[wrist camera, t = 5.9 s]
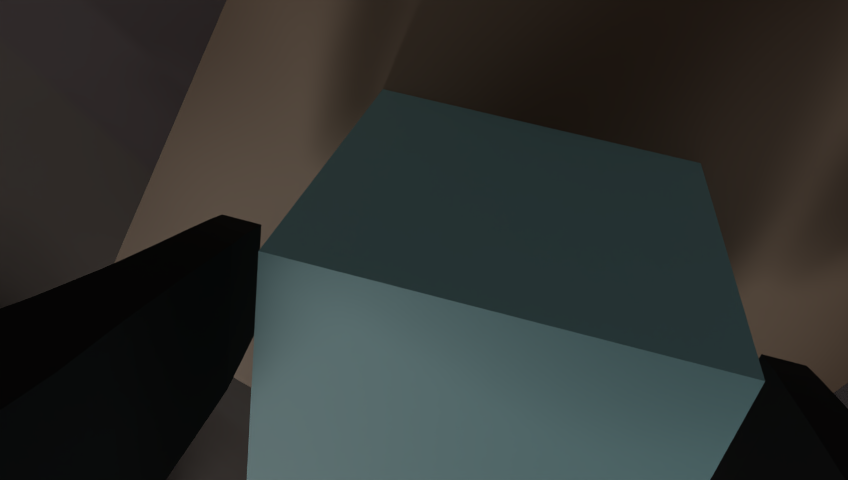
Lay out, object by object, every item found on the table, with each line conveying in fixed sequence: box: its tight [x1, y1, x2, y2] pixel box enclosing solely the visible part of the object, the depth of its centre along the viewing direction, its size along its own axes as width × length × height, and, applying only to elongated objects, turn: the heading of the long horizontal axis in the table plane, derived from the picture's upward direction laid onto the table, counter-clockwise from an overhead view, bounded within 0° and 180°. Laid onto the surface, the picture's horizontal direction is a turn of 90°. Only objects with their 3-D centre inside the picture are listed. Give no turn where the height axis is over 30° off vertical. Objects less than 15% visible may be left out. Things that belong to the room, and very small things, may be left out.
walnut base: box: [115, 0, 848, 393], centre depth 14 cm, size 12×12×2 cm
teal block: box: [247, 89, 765, 480], centre depth 10 cm, size 5×5×5 cm
